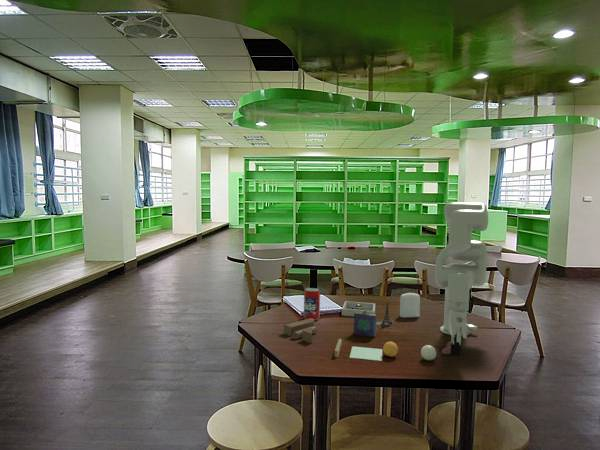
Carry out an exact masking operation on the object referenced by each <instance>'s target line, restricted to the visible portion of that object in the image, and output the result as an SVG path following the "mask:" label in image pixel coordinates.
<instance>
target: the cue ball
mask: <svg viewBox="0 0 600 450" xmlns="http://www.w3.org/2000/svg"><path fill="white" fill-rule="evenodd" d="M420 354H421V356H422V359H424V360H425V361H432V360H434V359H436V356H437V350H436V349H435V347H434V346H432V345H429V344H426V345H424V346H422V348H421V350H420Z"/></svg>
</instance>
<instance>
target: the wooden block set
mask: <svg viewBox="0 0 600 450" xmlns="http://www.w3.org/2000/svg"><path fill="white" fill-rule="evenodd" d="M316 333H317V327H316V326H315V321H314V319H312V318H309V319H302V320H297V321H293V322H290V323H285V324H284V325H283V335H286V336H289V337H292V338H293V339H294V340H298V339H301V341H303V342H306V343H308V344H311V345H312V344H313V343H312V342H313V339H312V338H313V335H314V334H316Z"/></svg>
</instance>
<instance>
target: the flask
mask: <svg viewBox="0 0 600 450" xmlns="http://www.w3.org/2000/svg"><path fill="white" fill-rule="evenodd" d="M363 310H364V312H360V311H359V312H355V314H354V317H353V318H354V320H353V335H355V336H361V337H368V338H375V337H376V336H377V328H376V327H377V325H376V322H377V318H378V317H377V314H376V313H375V314H367V311H368V310H365V309H363Z"/></svg>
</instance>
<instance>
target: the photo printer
mask: <svg viewBox="0 0 600 450" xmlns="http://www.w3.org/2000/svg"><path fill="white" fill-rule="evenodd" d="M399 302H400V303H399V305H400V306H399V317H400V318H420V315H421V313H420V312H421V311H420V309H421V297H420V294H418V293H415V292H406V293H403V294H401V295H400V297H399Z"/></svg>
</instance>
